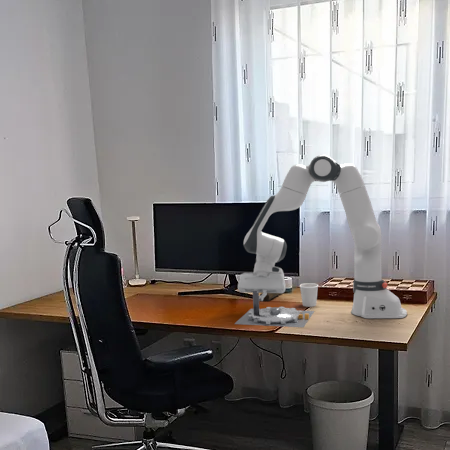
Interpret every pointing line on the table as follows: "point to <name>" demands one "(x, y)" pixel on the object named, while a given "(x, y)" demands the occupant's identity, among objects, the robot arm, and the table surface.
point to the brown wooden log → (270, 296)
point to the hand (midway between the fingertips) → (259, 300)
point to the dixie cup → (309, 294)
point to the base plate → (299, 323)
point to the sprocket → (273, 313)
